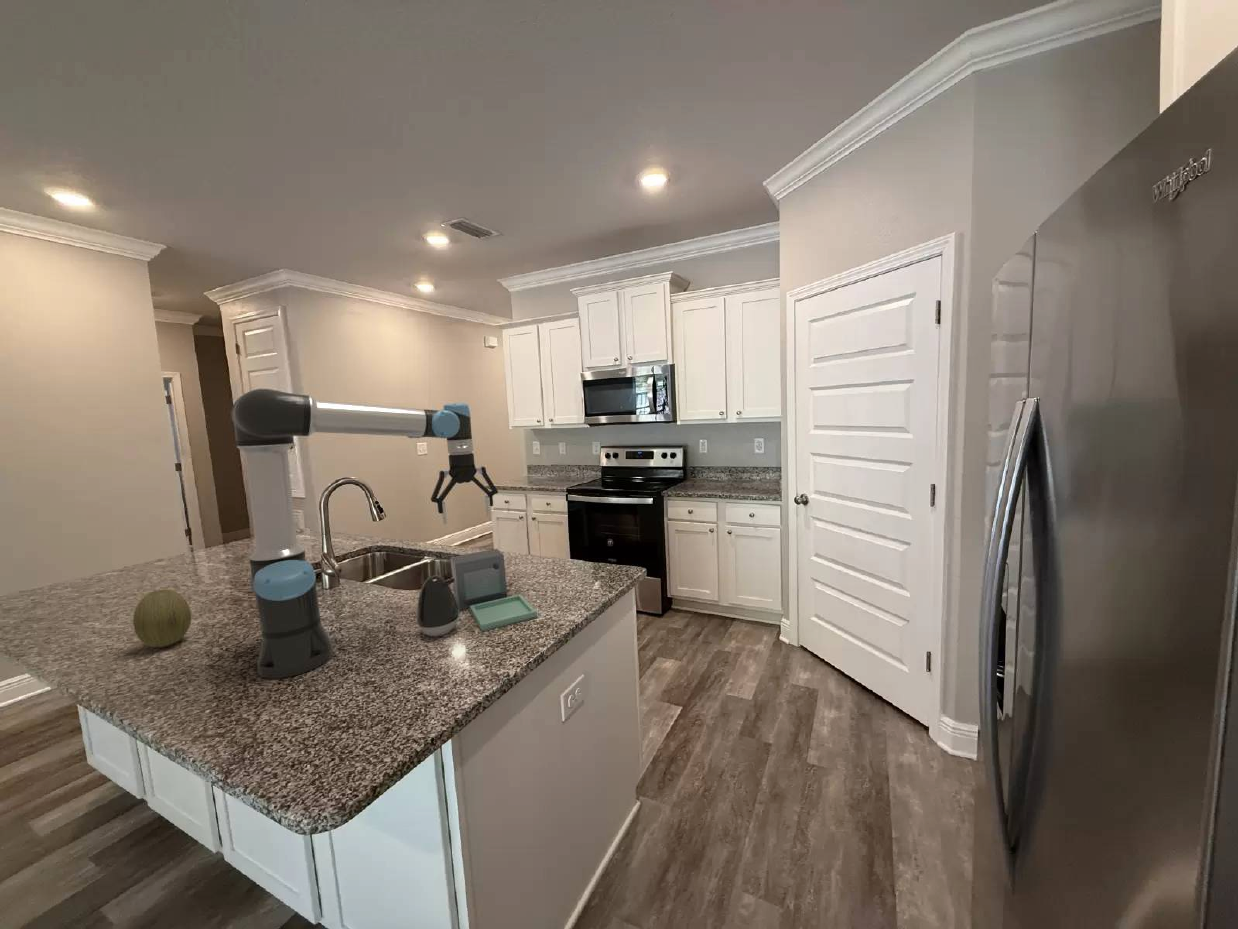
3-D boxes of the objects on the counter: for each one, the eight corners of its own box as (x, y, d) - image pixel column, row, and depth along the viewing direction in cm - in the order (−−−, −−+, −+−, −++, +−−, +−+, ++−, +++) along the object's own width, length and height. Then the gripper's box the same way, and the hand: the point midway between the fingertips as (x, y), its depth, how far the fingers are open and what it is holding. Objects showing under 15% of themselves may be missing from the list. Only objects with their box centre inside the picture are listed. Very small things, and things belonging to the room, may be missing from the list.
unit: (459, 611, 143) (455, 564, 141) (454, 601, 150) (450, 557, 149) (507, 600, 149) (504, 555, 147) (500, 591, 157) (496, 548, 155)
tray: (482, 631, 129) (481, 625, 129) (470, 612, 142) (469, 606, 142) (537, 617, 136) (536, 611, 136) (521, 599, 149) (520, 594, 149)
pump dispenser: (452, 640, 125) (446, 582, 123) (411, 642, 125) (405, 584, 123) (465, 622, 135) (460, 568, 133) (428, 624, 135) (422, 570, 134)
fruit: (202, 639, 134) (193, 586, 132) (147, 659, 124) (137, 601, 122) (185, 631, 139) (176, 580, 138) (131, 649, 130) (121, 595, 128)
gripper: (419, 458, 146) (427, 528, 148) (503, 450, 157) (509, 515, 160) (416, 456, 152) (424, 523, 155) (497, 448, 164) (503, 511, 166)
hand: (467, 520), depth 157 cm, fingers open, 13 cm apart
